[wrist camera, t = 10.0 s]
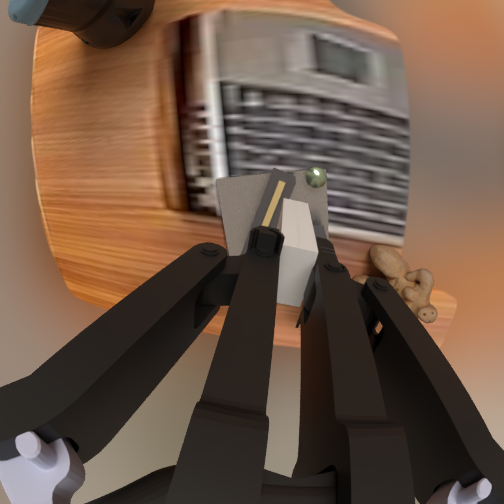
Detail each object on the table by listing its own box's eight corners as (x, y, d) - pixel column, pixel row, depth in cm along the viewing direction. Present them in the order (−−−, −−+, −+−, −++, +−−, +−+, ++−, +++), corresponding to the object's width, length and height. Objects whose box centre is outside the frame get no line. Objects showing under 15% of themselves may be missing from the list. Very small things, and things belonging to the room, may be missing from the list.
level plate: (217, 174, 40) (213, 177, 38) (324, 164, 37) (326, 166, 35) (239, 298, 50) (237, 305, 48) (327, 294, 47) (328, 301, 45)
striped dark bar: (242, 249, 43) (235, 268, 38) (273, 166, 37) (271, 173, 32) (261, 256, 43) (256, 276, 38) (295, 174, 37) (296, 183, 32)
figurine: (371, 234, 41) (429, 286, 28) (405, 245, 44) (460, 291, 31) (344, 289, 45) (388, 349, 32) (380, 293, 48) (423, 345, 35)
